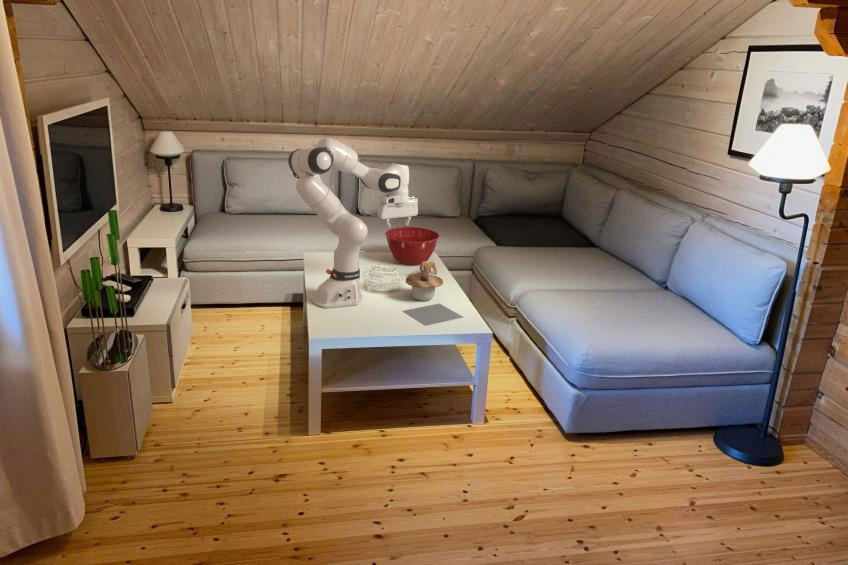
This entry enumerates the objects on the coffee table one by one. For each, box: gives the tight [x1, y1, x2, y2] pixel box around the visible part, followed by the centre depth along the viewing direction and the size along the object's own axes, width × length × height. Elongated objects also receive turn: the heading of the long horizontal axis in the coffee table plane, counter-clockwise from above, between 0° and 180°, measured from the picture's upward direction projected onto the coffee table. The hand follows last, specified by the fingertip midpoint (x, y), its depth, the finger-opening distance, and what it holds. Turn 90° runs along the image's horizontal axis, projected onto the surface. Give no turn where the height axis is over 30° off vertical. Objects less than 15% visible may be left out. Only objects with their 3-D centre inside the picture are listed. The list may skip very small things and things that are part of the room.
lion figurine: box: [419, 261, 438, 275], centre depth 335 cm, size 15×5×9 cm, turn 154°
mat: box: [402, 303, 464, 327], centre depth 288 cm, size 20×18×1 cm
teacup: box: [411, 286, 436, 302], centre depth 305 cm, size 14×11×8 cm
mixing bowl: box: [385, 226, 440, 266], centre depth 355 cm, size 28×28×16 cm
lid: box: [405, 270, 444, 289], centre depth 303 cm, size 17×17×5 cm
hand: (397, 226), depth 313 cm, fingers open, 8 cm apart
